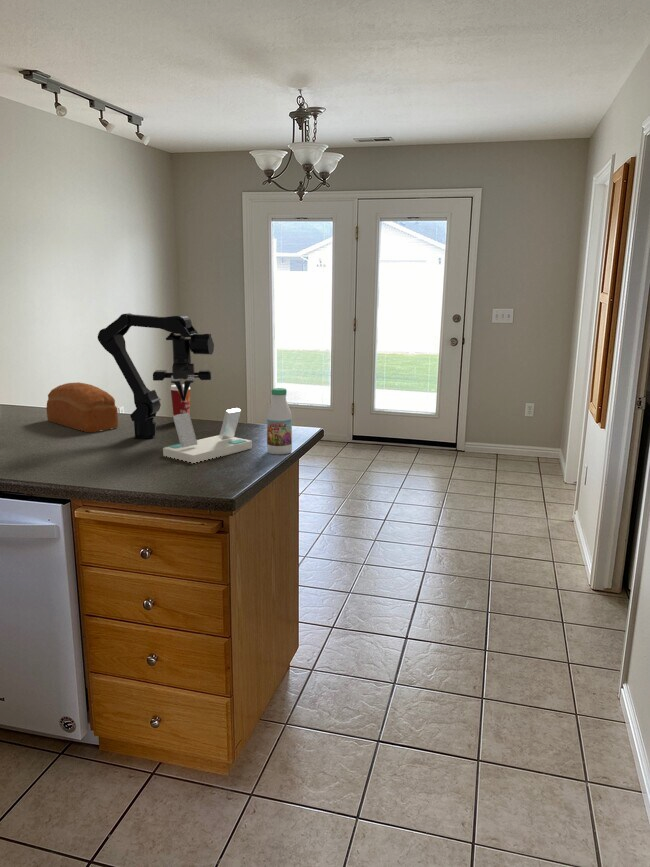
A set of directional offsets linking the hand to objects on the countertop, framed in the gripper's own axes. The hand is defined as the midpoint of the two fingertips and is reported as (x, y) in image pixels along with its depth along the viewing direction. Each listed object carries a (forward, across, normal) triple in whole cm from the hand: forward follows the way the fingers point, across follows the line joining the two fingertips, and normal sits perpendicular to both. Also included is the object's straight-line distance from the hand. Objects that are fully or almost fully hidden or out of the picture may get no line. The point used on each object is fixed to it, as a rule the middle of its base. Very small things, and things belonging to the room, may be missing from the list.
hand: (183, 400), depth 218 cm
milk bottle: (+13, +31, -21) cm, 40 cm away
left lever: (+10, +4, -24) cm, 26 cm away
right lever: (+10, +14, -14) cm, 22 cm away
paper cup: (+13, -4, +28) cm, 31 cm away
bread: (+13, -40, +27) cm, 50 cm away
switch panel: (+13, +9, -19) cm, 25 cm away
